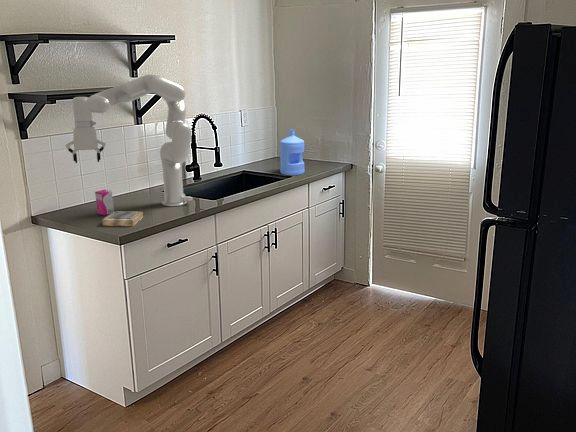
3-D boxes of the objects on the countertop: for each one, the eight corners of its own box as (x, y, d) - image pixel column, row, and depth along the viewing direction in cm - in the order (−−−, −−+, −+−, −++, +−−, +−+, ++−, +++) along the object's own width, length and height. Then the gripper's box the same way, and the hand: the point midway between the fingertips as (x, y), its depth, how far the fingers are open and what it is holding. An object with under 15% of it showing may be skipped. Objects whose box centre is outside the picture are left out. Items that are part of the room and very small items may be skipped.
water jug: (275, 173, 359) (274, 129, 351) (291, 169, 370) (291, 127, 362) (293, 176, 349) (293, 131, 341) (309, 172, 360) (309, 129, 352)
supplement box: (107, 211, 273) (105, 188, 270) (114, 213, 270) (112, 190, 266) (97, 214, 269) (94, 191, 266) (104, 216, 265) (101, 193, 262)
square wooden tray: (143, 217, 263) (142, 211, 262) (133, 226, 250) (132, 219, 249) (114, 217, 264) (113, 210, 263) (102, 225, 251) (102, 219, 250)
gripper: (103, 123, 259) (107, 159, 263) (63, 124, 254) (67, 161, 258) (103, 125, 252) (107, 162, 256) (62, 126, 247) (66, 164, 251)
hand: (87, 162), depth 257 cm, fingers open, 9 cm apart
